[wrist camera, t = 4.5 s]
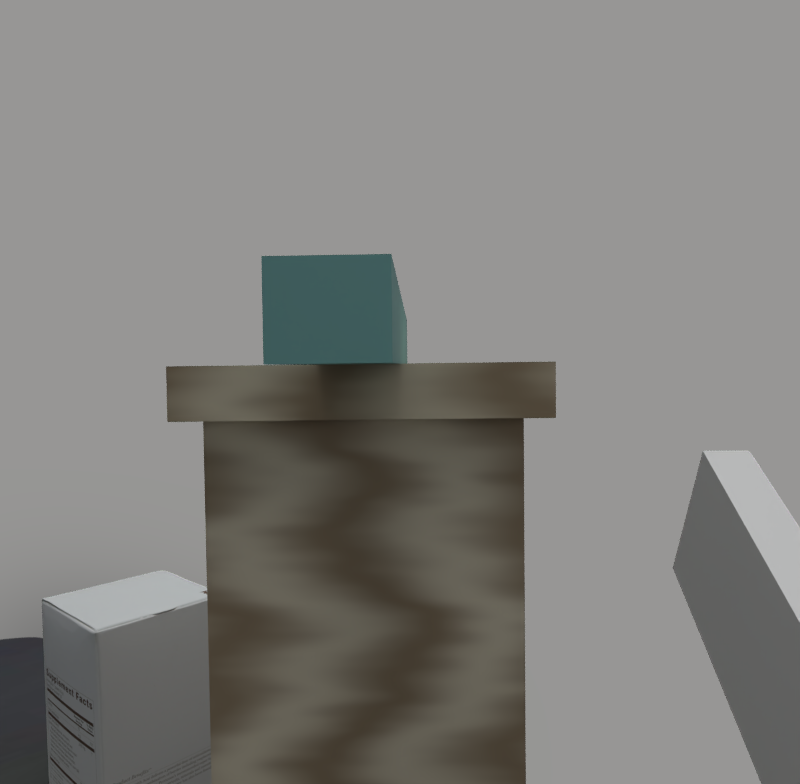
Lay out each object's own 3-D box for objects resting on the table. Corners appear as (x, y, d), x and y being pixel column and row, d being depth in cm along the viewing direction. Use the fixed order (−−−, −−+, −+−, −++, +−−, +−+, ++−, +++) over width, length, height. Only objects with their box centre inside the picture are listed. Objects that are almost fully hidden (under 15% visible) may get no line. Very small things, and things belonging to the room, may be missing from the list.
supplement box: (169, 759, 54) (164, 566, 54) (235, 809, 48) (230, 591, 48) (45, 814, 48) (37, 595, 47) (102, 880, 42) (94, 628, 41)
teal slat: (263, 364, 16) (261, 256, 16) (354, 365, 40) (354, 320, 40) (392, 362, 16) (391, 253, 16) (407, 364, 40) (406, 320, 40)
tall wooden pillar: (185, 1162, 27) (166, 366, 26) (272, 864, 43) (262, 366, 42) (558, 1168, 26) (555, 361, 25) (505, 865, 42) (501, 363, 41)
